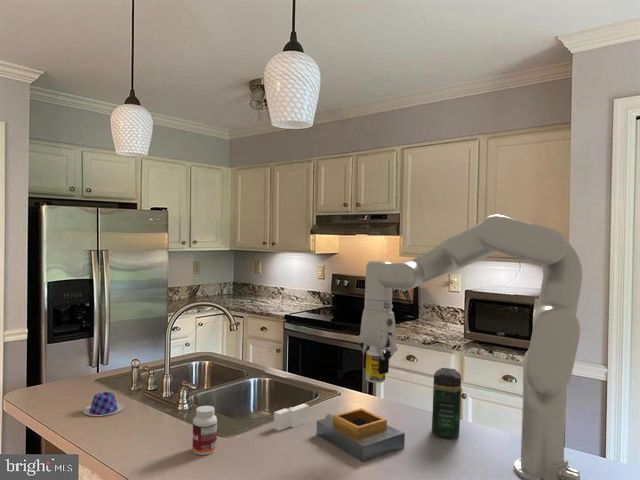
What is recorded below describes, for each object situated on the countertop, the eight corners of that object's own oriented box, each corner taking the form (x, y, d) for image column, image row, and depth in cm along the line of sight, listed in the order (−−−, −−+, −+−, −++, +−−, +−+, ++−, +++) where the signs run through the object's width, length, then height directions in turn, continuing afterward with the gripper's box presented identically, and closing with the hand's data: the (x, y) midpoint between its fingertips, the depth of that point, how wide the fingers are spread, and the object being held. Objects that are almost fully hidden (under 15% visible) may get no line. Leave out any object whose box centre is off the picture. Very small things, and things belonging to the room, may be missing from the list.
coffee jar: (459, 442, 135) (461, 376, 135) (430, 437, 137) (432, 372, 137) (460, 429, 144) (462, 367, 144) (433, 425, 146) (435, 364, 146)
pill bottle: (190, 447, 127) (191, 405, 127) (214, 443, 129) (215, 403, 129) (193, 457, 121) (195, 414, 121) (218, 453, 124) (219, 411, 124)
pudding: (128, 413, 150) (128, 396, 150) (86, 421, 143) (86, 403, 143) (119, 402, 160) (119, 386, 160) (79, 408, 153) (79, 392, 153)
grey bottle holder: (404, 447, 130) (405, 423, 130) (363, 461, 121) (363, 436, 121) (347, 419, 149) (348, 398, 149) (308, 429, 140) (308, 407, 140)
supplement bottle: (369, 383, 130) (370, 346, 130) (362, 377, 135) (364, 341, 135) (388, 383, 131) (389, 346, 131) (381, 377, 137) (382, 341, 137)
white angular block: (310, 418, 151) (311, 399, 151) (317, 432, 140) (317, 412, 140) (263, 420, 148) (263, 401, 148) (265, 435, 137) (266, 415, 137)
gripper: (410, 309, 128) (407, 376, 129) (367, 300, 142) (365, 361, 143) (390, 311, 124) (387, 380, 124) (348, 302, 138) (345, 364, 138)
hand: (375, 369), depth 133 cm, fingers closed on supplement bottle, 5 cm apart
